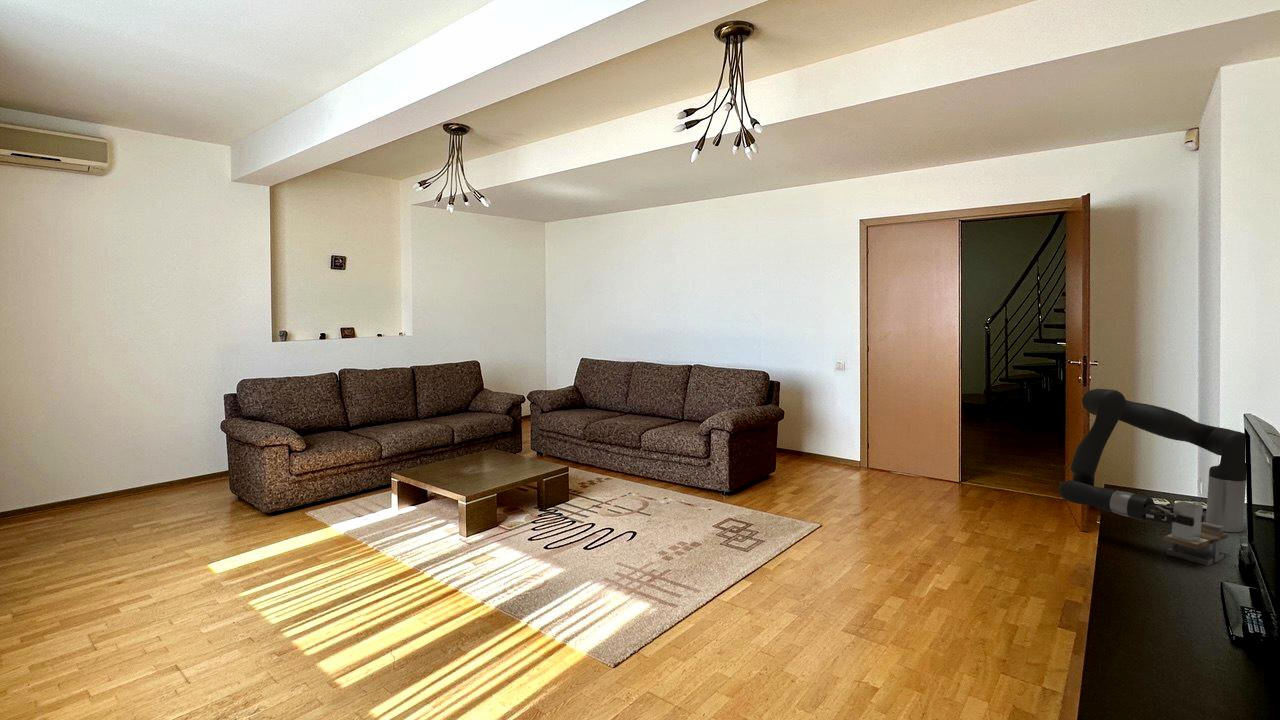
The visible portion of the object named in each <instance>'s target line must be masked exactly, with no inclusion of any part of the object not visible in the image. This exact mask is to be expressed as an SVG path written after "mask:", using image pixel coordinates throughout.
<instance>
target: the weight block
mask: <svg viewBox="0 0 1280 720" xmlns="http://www.w3.org/2000/svg"><path fill="white" fill-rule="evenodd" d="M1173 505H1174V510H1173V514H1176V515H1177V517H1178V516H1184V517H1188V518H1192V519H1194V526H1192V527H1191V526H1187V525H1183V524H1179V523H1177V524H1174V523H1171V534H1172V536H1171V537H1175V538H1178V539H1182V540H1186V541H1190V542H1194V541H1197V540H1200V537H1201V524H1202V515H1203V511H1204V505H1202V504H1201V505H1200V504H1196V503H1191V502H1187V501H1177V502H1174V503H1173Z"/></svg>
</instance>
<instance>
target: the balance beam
mask: <svg viewBox="0 0 1280 720" xmlns="http://www.w3.org/2000/svg"><path fill="white" fill-rule="evenodd" d="M1171 536H1172V533H1170V534H1167V535H1164V536H1163V541H1165V542H1169V543H1176V544H1180V545H1183V546H1187V547H1191V548H1195V549H1199V548H1202V547H1204V546H1207V545H1210V544H1212V545H1213V541H1215V540H1220V541H1223V540H1226V539H1228V538H1229V533H1228V532H1224V531H1223V526H1219V525H1215V524H1210V523H1206V521H1204V522H1202V524H1201V537H1200V540H1197V541H1194V542H1190V541H1186V540H1182V539H1178V538H1175V537H1171Z"/></svg>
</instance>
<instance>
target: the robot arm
mask: <svg viewBox="0 0 1280 720" xmlns="http://www.w3.org/2000/svg"><path fill="white" fill-rule="evenodd" d="M1125 397H1126V396H1124V394H1123V393H1122V392H1120V391H1118V390H1115V389H1110V388H1107V389H1106V388H1093V389H1090V390H1088V391H1087V392H1086V393H1084V394H1083V396H1082V398H1081V403H1082V406H1083V408H1084V409H1085V410H1086V412H1088V413H1090V414H1091V415H1093V416H1095V420H1094V422H1093V425H1092V426H1091V428H1090V429H1089V431H1088V433H1086V435H1085V436H1084V437H1083V439H1082V440H1081V441H1080V443H1079V444H1078V446H1077V448H1076V450H1075V451H1074V455H1073V458H1072V461H1071V464H1070V472H1072V475H1073V476H1072V480H1070V479H1069V480H1065V481H1063V482H1061V483H1060V485H1059V486H1058V493H1059V495H1060V497H1061V498H1062V499H1064V500H1065V501H1067V502H1070V503H1074V504H1077V505H1078V504H1079V505H1086V506H1091V507H1093V508H1096V509H1098V510H1099V509H1100V510H1103V511H1106V512H1109V513H1114V514H1117V515H1120V516H1122V517H1123V516H1124V517H1126V518H1131V519H1135V520H1138V521H1139V520H1140V521H1143V522H1148V521H1153V522H1159V523H1162V524H1166V525H1172V523H1174V524H1177V523H1179V524H1183V525H1187V526H1191V527H1192V526H1194V519H1192V518H1188V517H1184V516H1178V517H1177V515H1176V514H1173V510H1174V504H1170V503H1166V504H1162V503H1161V504H1156V503H1155V501H1154V499H1153V497H1152V496H1151V497H1150V496H1147V495H1142V494H1138V493H1137V494H1136V493H1132V492H1128V491H1123V490H1122V491H1121V490H1115V489H1113V488H1112V489H1110V488H1106V487H1099V486H1095V479H1096V478H1095V476H1096V472H1097V469H1098V466H1099V463H1100V460H1101V457H1102V455H1103V453H1104V452H1103V451H1104V448H1105V446H1106V445H1107V444H1108V443H1107V442H1108V440H1109V439H1110V438H1111V435H1112V433H1113V431H1114V429H1116V425H1117V424H1118V423H1119V422H1123V423H1125V424H1127V425H1130V426H1132V427H1135V428H1137V429H1139V430H1143V431H1145V432H1148V433H1151V434H1153V435H1156V436H1158V437H1163V438H1165V439H1169V440H1174V441H1178V442H1180V441H1181V442H1186V443H1190V444H1191V445H1194V446H1197V447H1199V448H1202V449H1204V450H1206V451H1208V452H1210V453H1212V454H1214V455H1216V456H1220V461H1219V464H1218V465H1213V466H1211V467H1209V470H1208V485H1207V486H1208V487H1207V499H1206V500H1207V501H1206V511H1205V512H1206V513H1205V515H1203V514H1202V522H1206V523H1210V524H1215V525H1219V526H1223V532H1225V533H1241V532H1243V531H1242V530H1243V529H1244V520H1245V519H1244V518H1245V506H1246V505H1245V503H1246V491H1247V490H1246V488H1247V478H1246V463H1245V434H1246V433H1245V432H1241V431H1238V430H1233V429H1229V428H1225V427H1219V426H1212V425H1209V424H1204V423H1202V422H1201V423H1200V422H1198V421H1195V420H1194V419H1191V418H1190V417H1189V416H1187V415H1185V414H1184V413H1183V414H1182V413H1180V412H1177V411H1174V410H1171V409H1170V408H1166V407H1162V406H1158V405H1152V404H1147V403H1141V402H1136V401H1131V400H1127V399H1126V398H1125Z"/></svg>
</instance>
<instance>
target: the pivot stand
mask: <svg viewBox="0 0 1280 720" xmlns="http://www.w3.org/2000/svg"><path fill="white" fill-rule="evenodd" d="M1171 543H1172V542H1171ZM1220 547H1221V540H1215V541H1213V543H1212V544H1210V545H1207V546H1204V547H1202V548H1199V549H1195V548H1191V547H1187V546H1183V545H1180V544H1176V543H1172V544H1171V547H1168V548H1166V555H1168V556H1172V557H1175V558H1179V559H1183V560H1185V561H1190V562H1193V563H1196V564H1200V565H1203V566H1206V567H1208V566H1211V565H1213V564H1217V563H1219V561H1222V560H1224V556H1225V553H1223V552H1220Z"/></svg>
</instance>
